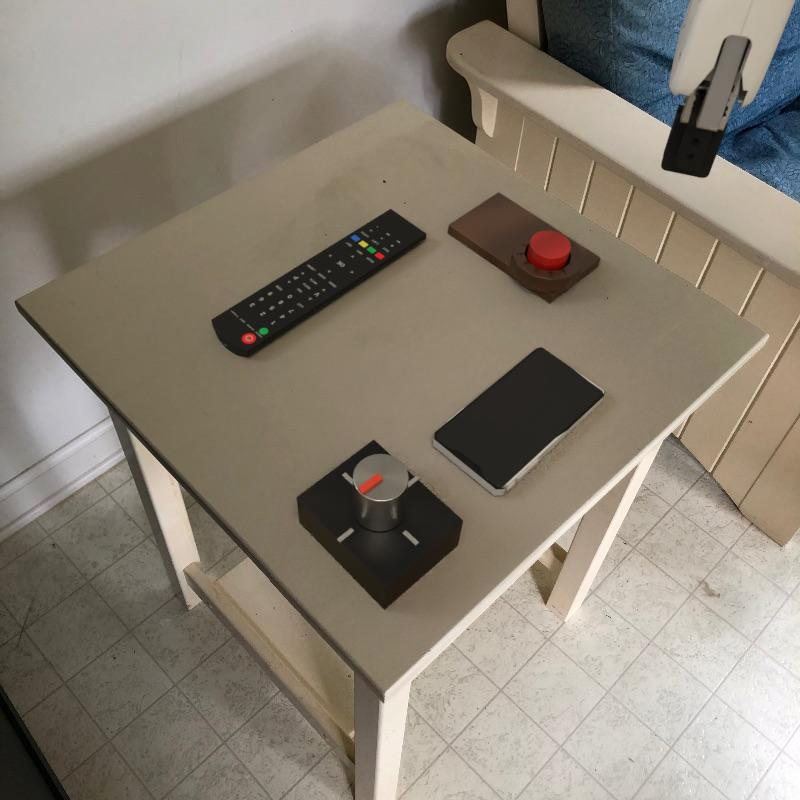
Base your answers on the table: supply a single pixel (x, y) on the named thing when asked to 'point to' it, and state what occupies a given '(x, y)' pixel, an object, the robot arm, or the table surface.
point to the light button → (548, 250)
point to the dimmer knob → (380, 492)
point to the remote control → (315, 283)
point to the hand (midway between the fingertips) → (684, 167)
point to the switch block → (519, 246)
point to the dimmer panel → (379, 551)
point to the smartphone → (517, 420)
